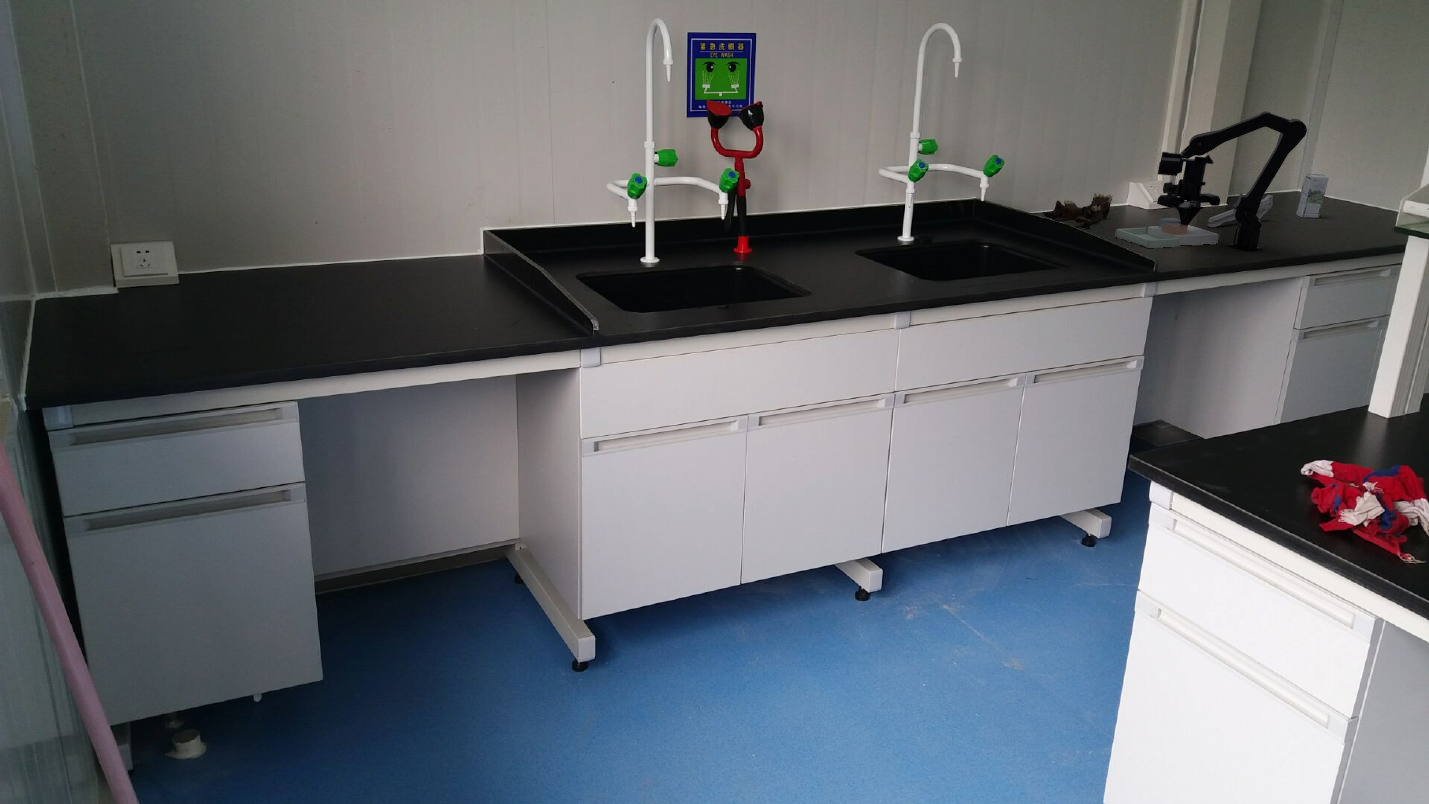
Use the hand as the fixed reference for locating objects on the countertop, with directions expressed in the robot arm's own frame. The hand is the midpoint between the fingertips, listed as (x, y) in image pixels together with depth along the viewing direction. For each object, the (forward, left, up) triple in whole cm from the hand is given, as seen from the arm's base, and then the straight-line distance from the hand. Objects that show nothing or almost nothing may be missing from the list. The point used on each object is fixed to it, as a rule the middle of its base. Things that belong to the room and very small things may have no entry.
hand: (1183, 228), depth 333 cm
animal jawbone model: (+31, +12, -5) cm, 33 cm away
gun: (+18, -38, -5) cm, 42 cm away
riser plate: (+2, -2, -4) cm, 5 cm away
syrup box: (+24, -72, -4) cm, 76 cm away
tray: (+2, +12, -4) cm, 12 cm away
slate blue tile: (+6, 0, -1) cm, 6 cm away
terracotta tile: (0, +4, -1) cm, 4 cm away
